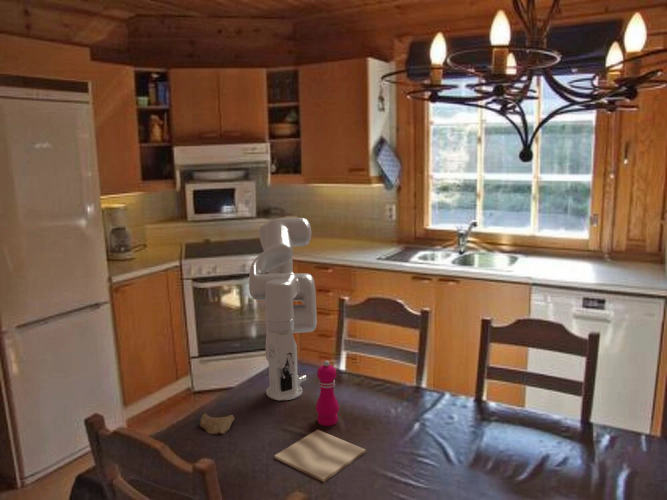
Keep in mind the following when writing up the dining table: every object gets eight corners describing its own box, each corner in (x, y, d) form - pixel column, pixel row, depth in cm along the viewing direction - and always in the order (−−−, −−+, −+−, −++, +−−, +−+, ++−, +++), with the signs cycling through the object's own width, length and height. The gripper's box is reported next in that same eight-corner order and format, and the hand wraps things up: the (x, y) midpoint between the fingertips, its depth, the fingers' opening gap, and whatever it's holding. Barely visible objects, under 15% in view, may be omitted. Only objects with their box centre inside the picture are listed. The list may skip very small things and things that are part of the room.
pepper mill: (342, 424, 170) (341, 363, 166) (320, 428, 167) (319, 366, 164) (334, 413, 176) (333, 355, 173) (312, 418, 174) (311, 358, 170)
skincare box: (286, 389, 158) (285, 350, 156) (295, 394, 155) (294, 354, 152) (269, 396, 154) (267, 355, 152) (277, 401, 151) (276, 360, 148)
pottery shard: (235, 422, 175) (206, 414, 176) (238, 411, 174) (208, 402, 175) (224, 442, 165) (193, 433, 166) (226, 430, 164) (195, 421, 164)
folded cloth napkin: (317, 432, 165) (317, 429, 165) (365, 452, 154) (365, 449, 154) (274, 458, 152) (274, 455, 152) (323, 482, 140) (323, 479, 140)
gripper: (255, 318, 156) (257, 379, 159) (281, 335, 141) (283, 401, 145) (279, 314, 159) (281, 373, 163) (306, 330, 145) (308, 394, 149)
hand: (282, 386), depth 154 cm, fingers closed on skincare box, 4 cm apart
